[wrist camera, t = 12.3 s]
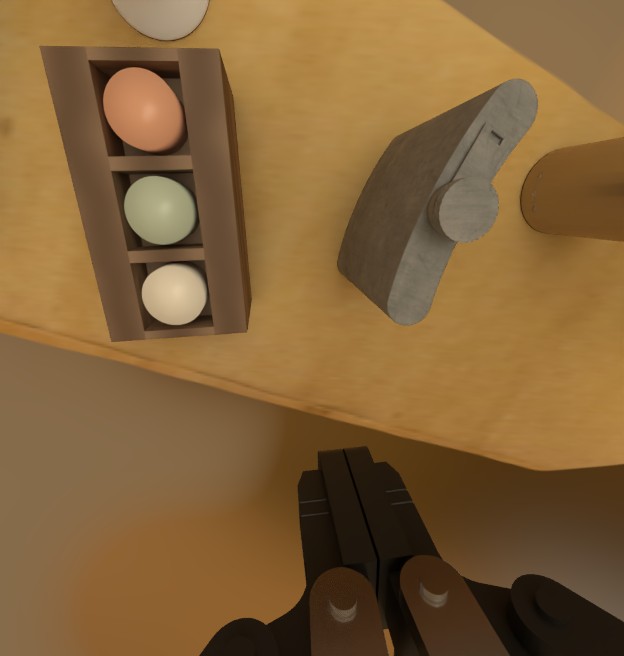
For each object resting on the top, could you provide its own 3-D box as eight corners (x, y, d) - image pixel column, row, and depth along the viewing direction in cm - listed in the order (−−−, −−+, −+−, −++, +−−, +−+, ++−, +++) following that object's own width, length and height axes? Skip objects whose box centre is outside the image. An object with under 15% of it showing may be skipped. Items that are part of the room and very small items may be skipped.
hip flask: (356, 280, 41) (433, 345, 22) (325, 267, 40) (379, 323, 21) (422, 143, 37) (584, 81, 18) (390, 124, 36) (526, 39, 17)
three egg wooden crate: (232, 96, 33) (218, 48, 23) (251, 299, 40) (247, 332, 30) (111, 96, 32) (39, 45, 22) (152, 305, 39) (111, 342, 29)
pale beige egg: (207, 258, 31) (200, 265, 27) (213, 310, 32) (208, 323, 29) (150, 261, 30) (136, 268, 27) (160, 314, 32) (148, 327, 29)
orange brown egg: (184, 84, 26) (172, 67, 23) (193, 155, 28) (183, 149, 25) (116, 84, 26) (95, 66, 22) (130, 156, 27) (112, 149, 24)
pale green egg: (196, 178, 28) (187, 175, 25) (204, 238, 30) (197, 243, 27) (134, 179, 28) (117, 176, 25) (146, 241, 30) (131, 246, 26)
